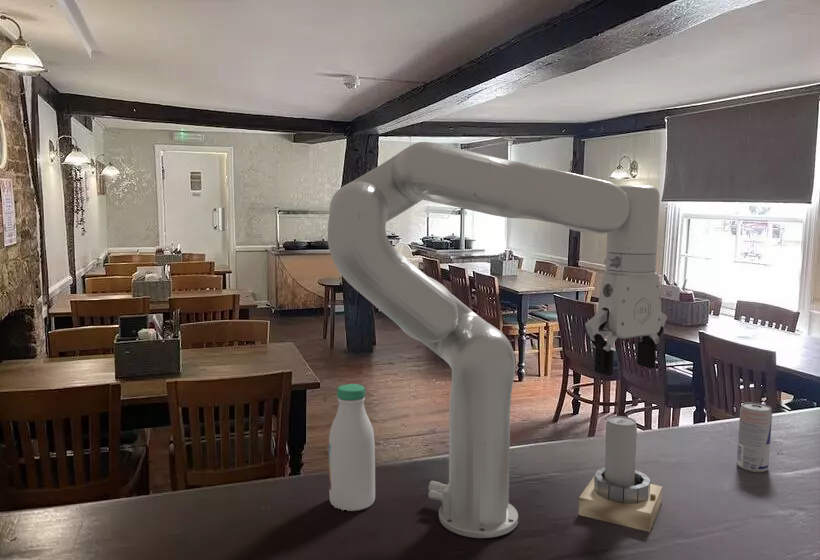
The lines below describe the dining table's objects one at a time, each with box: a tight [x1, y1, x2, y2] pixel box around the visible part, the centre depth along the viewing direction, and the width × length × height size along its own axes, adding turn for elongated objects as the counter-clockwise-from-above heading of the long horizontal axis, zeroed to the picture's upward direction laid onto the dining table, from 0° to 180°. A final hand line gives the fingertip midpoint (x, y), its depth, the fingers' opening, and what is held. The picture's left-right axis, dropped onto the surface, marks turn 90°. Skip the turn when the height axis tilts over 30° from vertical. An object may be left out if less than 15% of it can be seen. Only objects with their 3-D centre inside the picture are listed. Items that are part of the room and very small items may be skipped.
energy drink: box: [736, 401, 773, 473], centre depth 123 cm, size 5×5×12 cm
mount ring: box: [593, 467, 652, 504], centre depth 107 cm, size 8×8×2 cm
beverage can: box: [604, 415, 638, 486], centre depth 107 cm, size 5×5×12 cm
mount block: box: [578, 475, 663, 533], centre depth 107 cm, size 11×11×4 cm
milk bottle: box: [328, 383, 376, 512], centre depth 109 cm, size 8×8×20 cm
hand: (625, 370), depth 104 cm, fingers open, 9 cm apart
